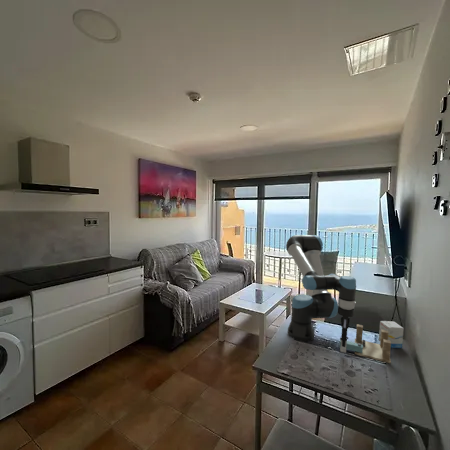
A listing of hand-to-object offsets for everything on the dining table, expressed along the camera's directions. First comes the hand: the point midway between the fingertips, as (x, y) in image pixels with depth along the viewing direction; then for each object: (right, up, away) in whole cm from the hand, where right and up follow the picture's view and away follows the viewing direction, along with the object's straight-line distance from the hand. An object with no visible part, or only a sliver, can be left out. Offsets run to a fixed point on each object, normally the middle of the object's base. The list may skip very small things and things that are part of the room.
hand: (343, 351), depth 131 cm
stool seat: (+18, -3, +6) cm, 19 cm away
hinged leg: (+6, -1, +5) cm, 8 cm away
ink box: (+33, -3, +13) cm, 36 cm away
